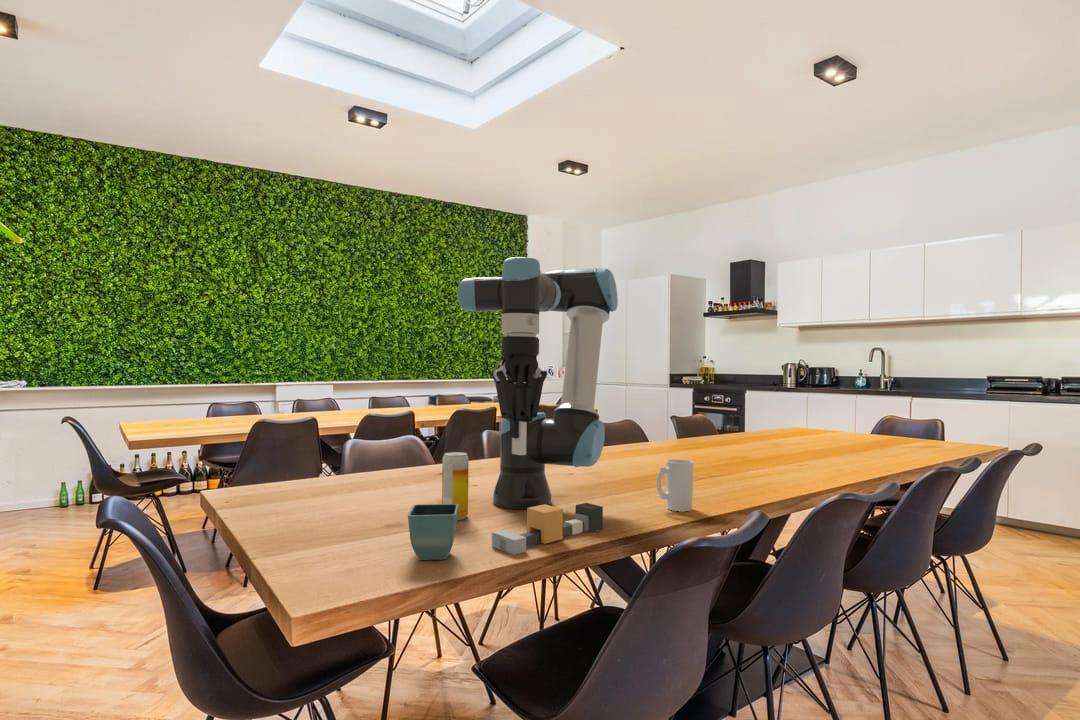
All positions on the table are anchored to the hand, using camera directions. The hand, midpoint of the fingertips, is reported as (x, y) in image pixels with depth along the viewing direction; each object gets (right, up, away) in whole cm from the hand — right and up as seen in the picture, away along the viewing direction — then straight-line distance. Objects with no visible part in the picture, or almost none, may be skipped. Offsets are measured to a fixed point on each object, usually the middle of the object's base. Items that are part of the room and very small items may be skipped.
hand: (518, 454), depth 122 cm
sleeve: (+5, -19, +5) cm, 20 cm away
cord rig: (+7, -19, +6) cm, 21 cm away
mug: (+38, -19, +32) cm, 53 cm away
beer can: (-16, -19, +22) cm, 33 cm away
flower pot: (-16, -19, -6) cm, 25 cm away
